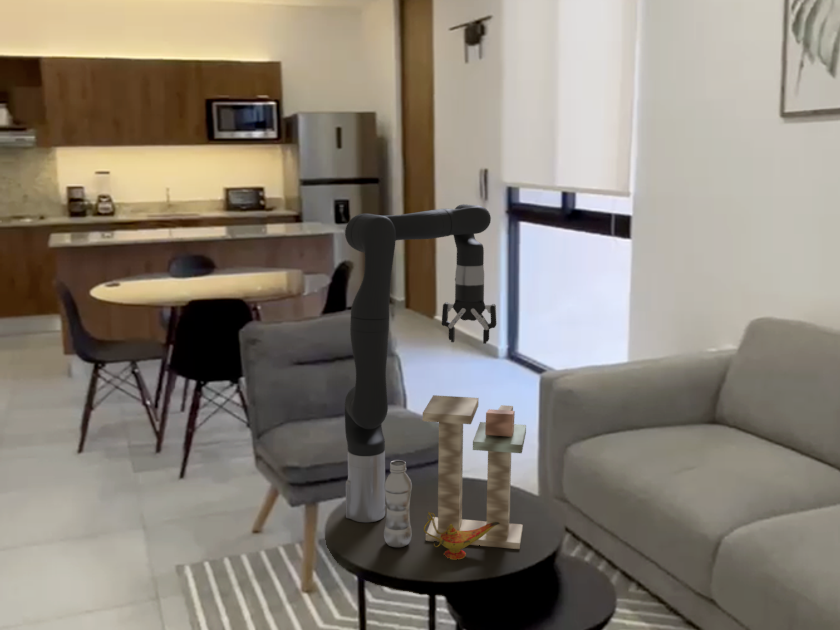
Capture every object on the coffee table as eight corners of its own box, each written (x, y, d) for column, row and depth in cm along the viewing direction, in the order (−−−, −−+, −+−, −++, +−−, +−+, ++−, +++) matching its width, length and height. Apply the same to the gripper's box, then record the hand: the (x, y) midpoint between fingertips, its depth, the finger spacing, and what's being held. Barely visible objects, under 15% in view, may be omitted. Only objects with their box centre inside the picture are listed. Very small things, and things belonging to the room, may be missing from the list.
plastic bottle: (379, 548, 196) (378, 466, 193) (391, 535, 203) (391, 456, 199) (404, 553, 194) (405, 470, 190) (416, 540, 200) (416, 460, 196)
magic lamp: (504, 556, 193) (505, 511, 190) (426, 564, 189) (427, 518, 187) (494, 543, 199) (496, 498, 197) (420, 550, 195) (420, 505, 193)
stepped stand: (421, 544, 198) (422, 412, 192) (432, 518, 212) (433, 395, 206) (518, 553, 194) (522, 419, 188) (523, 526, 208) (526, 400, 201)
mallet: (485, 434, 193) (486, 412, 192) (494, 420, 214) (495, 400, 214) (511, 436, 191) (512, 414, 191) (518, 422, 213) (519, 402, 213)
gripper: (498, 280, 224) (497, 340, 227) (444, 278, 227) (444, 338, 230) (495, 285, 217) (494, 347, 220) (440, 283, 220) (439, 344, 223)
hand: (468, 342), depth 225 cm, fingers open, 8 cm apart
